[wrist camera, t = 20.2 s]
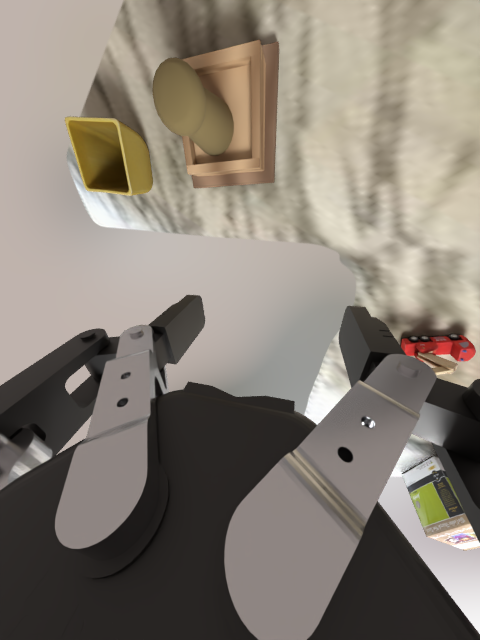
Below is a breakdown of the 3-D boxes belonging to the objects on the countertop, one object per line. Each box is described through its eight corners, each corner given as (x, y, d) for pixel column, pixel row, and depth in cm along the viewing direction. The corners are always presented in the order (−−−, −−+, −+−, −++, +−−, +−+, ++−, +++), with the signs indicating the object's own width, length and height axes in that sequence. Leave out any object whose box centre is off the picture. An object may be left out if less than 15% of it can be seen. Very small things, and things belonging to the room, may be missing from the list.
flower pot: (157, 135, 33) (116, 117, 26) (164, 196, 38) (131, 195, 30) (113, 133, 34) (62, 115, 27) (125, 192, 39) (85, 190, 32)
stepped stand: (279, 49, 25) (274, 12, 20) (274, 182, 32) (269, 179, 27) (181, 72, 28) (157, 45, 23) (197, 188, 35) (181, 186, 31)
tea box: (432, 484, 63) (464, 552, 51) (400, 473, 64) (424, 537, 52) (471, 467, 55) (520, 543, 43) (433, 454, 56) (470, 525, 44)
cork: (214, 166, 29) (176, 152, 20) (185, 128, 28) (131, 95, 19) (242, 127, 26) (213, 90, 17) (212, 82, 25) (162, 15, 16)
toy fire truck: (460, 346, 38) (502, 385, 31) (379, 349, 43) (397, 383, 35) (465, 332, 37) (510, 369, 29) (380, 337, 42) (399, 370, 34)
